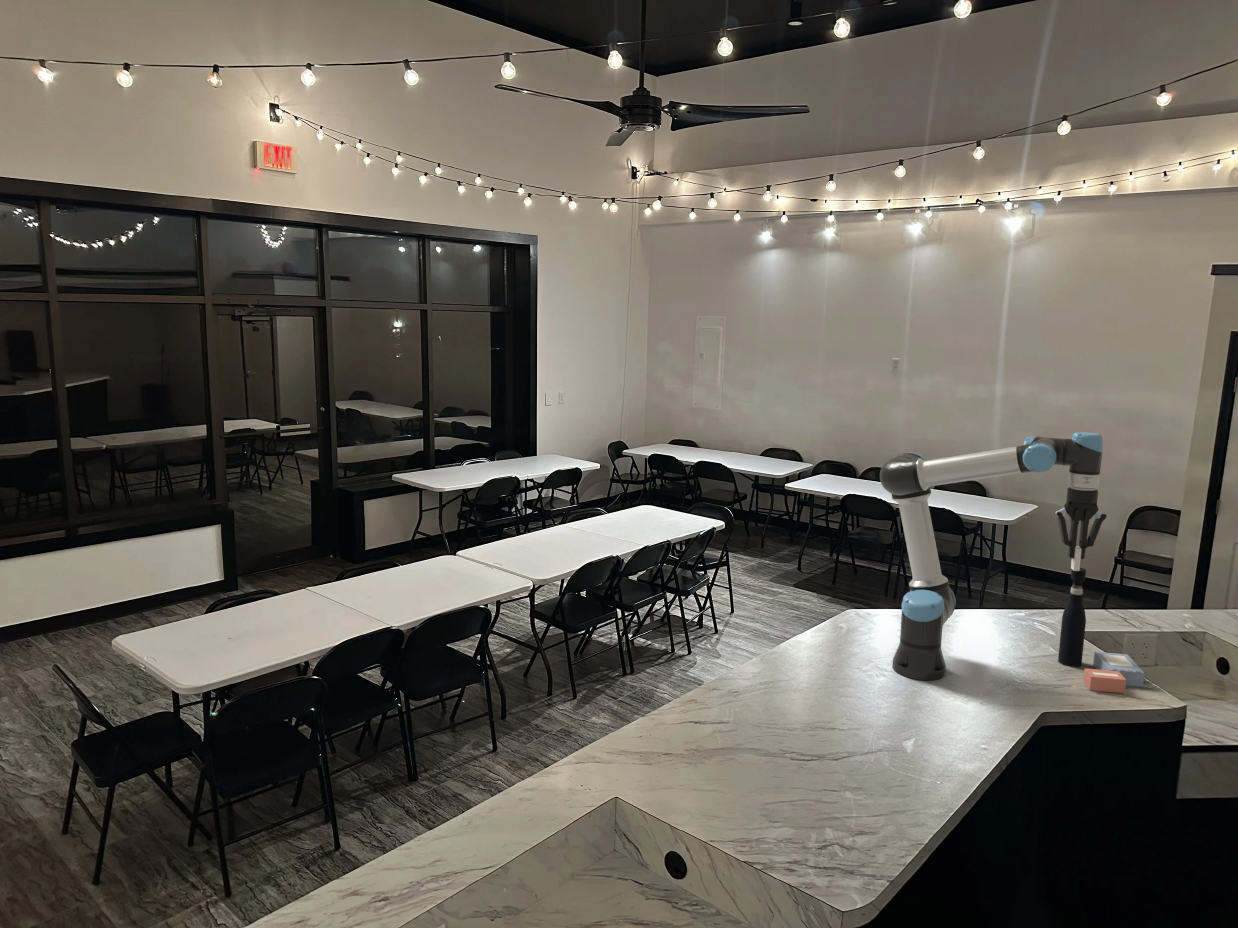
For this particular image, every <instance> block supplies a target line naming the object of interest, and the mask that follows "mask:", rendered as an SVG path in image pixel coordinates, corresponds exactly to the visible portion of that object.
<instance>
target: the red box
mask: <svg viewBox="0 0 1238 928" xmlns="http://www.w3.org/2000/svg"><path fill="white" fill-rule="evenodd" d="M1082 682H1083V683H1084V684H1085V686H1086V687H1087V688H1088V690H1089V691H1095V692H1096V691H1097V692H1108V693H1119V694H1126V688H1127V687H1126V679H1125V678H1124V677H1123V676H1122V674H1121V673H1120V672H1119V671H1109V670H1097V669H1096V668H1095V669H1094V668H1084V671H1083V679H1082Z"/></svg>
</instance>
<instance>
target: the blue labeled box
mask: <svg viewBox="0 0 1238 928" xmlns="http://www.w3.org/2000/svg"><path fill="white" fill-rule="evenodd" d="M1092 666H1093V667H1094V668H1095V669H1097V670H1109V671H1119V672H1120V673H1121V674H1122V676H1123V677H1124V678H1125V679H1126V686H1127V687H1138V688H1143V687H1144V681H1145V672H1144V671H1143V669H1141V668H1140V666H1139V665H1138V664H1137V663H1136V662H1135V661H1134V660H1133V659H1132V658H1131V657H1130V656H1129V655H1128V654H1127V653H1125V654H1124V653H1116V652H1115V653H1114V652H1104V651H1103V652H1102V651H1094V652H1093V661H1092Z"/></svg>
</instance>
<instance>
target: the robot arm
mask: <svg viewBox="0 0 1238 928" xmlns="http://www.w3.org/2000/svg"><path fill="white" fill-rule="evenodd" d="M1103 443H1104V437H1103V435H1101V434H1100V433H1097V432H1086V431H1084V432H1083V431H1076V432H1074V433H1072V436H1071V438H1059V437H1044V436H1038V435H1037V436H1027V437H1025V438H1024V442H1023V444H1022V445H1017V446H1011V447H1004V448H999V449H998V448H997V449H991V450H986V451H978V452H972V453H967V454H966V453H965V454H959V455H955V456H948V457H947V456H946V457H941V458H935V459H929V460H927V459H926V458H925V457H924V456H922V455H921V454H919V453H918V452H917V453H916V452H911V451H910V452H902V453H899V454H898V455H896V456H894V457H892V458H890V459H888V460H887V461H886V462H884V464H883V465H882V467H880V472H879V481H880V483H881V486H882V488H884V490H886V491H887V492H888V493H889V494H890V495H891V499H892V500H893V501H894V502H895V503H897V504H898V508H899V513H900V518H901V523H902V527H903V528H902V529H903V534H904V540H905V543H906V549H907V550H906V551H907V555H908V560H909V566H910V571H911V575H912V579H911V580H910V581H909V582H908V587H909V591H908V592H907V593H905V595H904V596H903V598H902V602H901V615H900V616H901V618H900V635H899V638H900V640H899V644H898V647H897V649H896V652H895V654H894V656H893V658H892V664H891V665H892V666H891V667H892V669H893V670H894V671H895V672H896V673H898V674H899V675H901V676H902V677H903V676H904V677H907V678H910V679H914V680H922V681H935V680H939V679H942V678H944V677H945V676H946V672H947V667H946V661H945V658H944V654H943V651H942V641H943V640H942V639H943V627H944V625H945V623H946V622H947V621H948V619H950V618H951V616H952V615H953V613H954V611H955V609H956V601H957V600H956V596H955V594H954V591H953V590H952V589H951V587H950V583H949V579H948V577H946V576H945V575H943V574H942V569H941V564H940V559H939V553H938V548H937V544H936V539H935V533H934V527H933V523H932V516H931V512H930V508H929V507H930V506H929V501H928V499H929V497H930V496H931V495H932V490H931V487H934V486H941V485H947V484H956V483H962V482H969V481H976V480H981V479H982V480H984V479H989V478H995V477H1003V476H1009V475H1015V474H1016V475H1017V474H1023V473H1032V472H1033V473H1044V472H1046V471H1049V470H1050V469H1051V468H1053V466H1054V465H1055V466H1057V465H1058V466H1068V467H1069V470H1068V479H1067V485H1068V488H1067V490H1066V492H1067V493H1066V500H1065V501H1066V502H1065V504H1064V505H1063V508H1061V509H1059V510H1058V509H1056V510H1054V515H1055V516H1056V517H1057V519H1058V525H1059V531H1060V537H1061V541H1062V543H1063V544H1064V545H1066V546H1067V547H1068V558H1069V559H1071V562H1070V563H1071V564H1070V569H1071V570H1073V571H1079V570H1080V568H1081V560H1084V559H1085V557H1086V556H1085V555H1086V549H1087V548H1091V547H1093V546H1094V544H1095V542H1096V540H1097V537H1098V535H1099V532H1100V529H1101V526H1102V523H1103V522H1104V521H1105V520H1106V518H1107V514H1105V513H1104V512H1102V511H1100V510H1099V507H1098V499H1099V490H1098V488H1099V485H1100V477H1101V475H1100V474H1101V466H1102V457H1103V451H1104V450H1103V447H1104V446H1103V445H1104V444H1103ZM1066 514H1067V515H1068V517H1069V518H1070V526H1069V527H1070V529H1069V534H1068V529H1067V524H1066V519H1065V517H1066V516H1067V515H1066ZM1092 518H1094V520H1093V523H1092V525H1091V529H1090V530H1089V525H1090V520H1091V519H1092ZM1079 524H1080V526H1079ZM1078 527H1080V529H1079V528H1078ZM1078 531H1079V538H1078ZM1088 531H1089V533H1088ZM1077 538H1078V539H1077ZM1077 540H1078V545H1077Z"/></svg>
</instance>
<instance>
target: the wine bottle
mask: <svg viewBox="0 0 1238 928" xmlns="http://www.w3.org/2000/svg"><path fill="white" fill-rule="evenodd" d="M1086 574H1087V569H1085V568H1082V567H1080V570H1079V571H1073V570H1072V569H1071V572H1070V580H1072V586H1071V587H1070V592H1069V593H1068V594H1069V595H1068V602H1067V603H1066V605H1065V607H1064V609H1063V612H1062V617H1061V625H1060V626H1061V627H1060V637H1059V638H1060V639H1059V646H1058V647H1059V648H1058V659H1057V662H1058V663H1059V664H1061V665H1063V666H1066V667H1070V668H1073V667H1074V668H1078V667H1081V666H1082V663H1083V654H1084V653H1083V652H1084V645H1085V642H1084V641H1085V634H1086V633H1085V632H1086V623H1087V620H1086V619H1087V618H1086V610H1085V607H1084V590H1083V582H1085V581H1086V577H1087V576H1086Z"/></svg>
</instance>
